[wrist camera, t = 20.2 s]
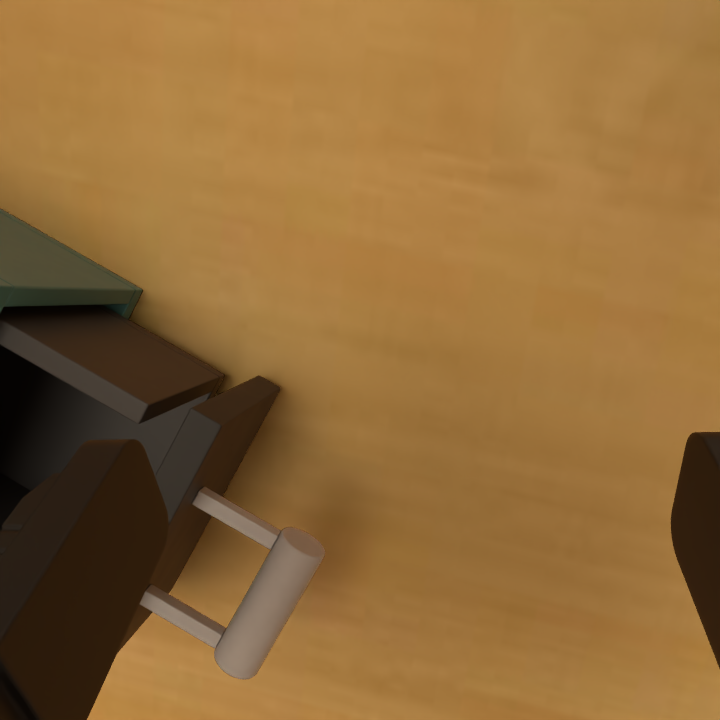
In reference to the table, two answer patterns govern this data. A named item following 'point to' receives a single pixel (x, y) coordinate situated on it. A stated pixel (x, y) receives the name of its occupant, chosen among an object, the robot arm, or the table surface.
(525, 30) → the table surface
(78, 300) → the teal cabinet housing
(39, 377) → the drawer
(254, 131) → the table surface
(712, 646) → the robot arm
